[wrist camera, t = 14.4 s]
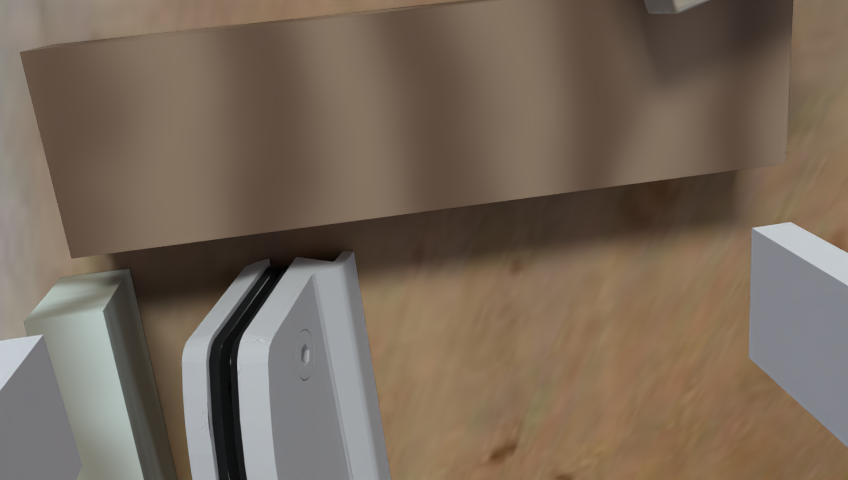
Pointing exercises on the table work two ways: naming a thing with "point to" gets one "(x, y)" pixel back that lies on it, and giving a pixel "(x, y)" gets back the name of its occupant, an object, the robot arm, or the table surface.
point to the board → (365, 144)
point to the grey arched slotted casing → (284, 379)
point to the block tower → (671, 6)
